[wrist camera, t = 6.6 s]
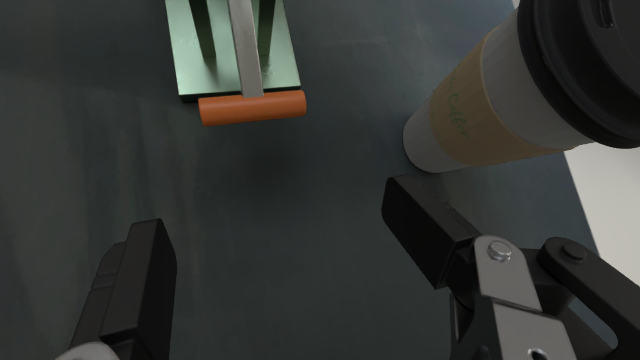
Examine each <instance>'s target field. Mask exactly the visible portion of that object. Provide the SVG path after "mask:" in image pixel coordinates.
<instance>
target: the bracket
mask: <svg viewBox="0 0 640 360" xmlns="http://www.w3.org/2000/svg"><path fill="white" fill-rule="evenodd" d="M251 4H252V11H253V19H254V26H255V33H256V40H257V48H258V55H259V62H260V70H261V77H262V84H263V91H264V93H269V92H282V91H294V90H300V87H301V84H300V79H299V74H298V70H297V65H296V61H295V56H294V52H293V47H292V43H291V38H290V34H289V29H288V24H287V20H286V15H285V11H284V6H283V2H282V0H251ZM165 6H166V12H167V19H168V26H169V33H170V39H171V46H172V53H173V60H174V66H175V73H176V80H177V87H178V93H179V97H180V99H181V101H182V103H185V102H197V101H198V99H199V98H208V97H220V96H232V95H242V94H241V88H240V82H239V75H238V69H237V63H236V56H235V50H234V44H233V37H232V31H231V24H230V18H229V12H228V5H227V0H165Z"/></svg>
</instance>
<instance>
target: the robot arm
mask: <svg viewBox="0 0 640 360" xmlns="http://www.w3.org/2000/svg"><path fill="white" fill-rule="evenodd" d="M381 211H382V217H383V220H384V222H385V223H386V225H387V226H388V227H389V229H390V230H391V231H392V233H393V234H394V235H395V237H396V238H397V239H398V241H399V242H400V243H401V245H402V246H403V247H404V249H405V250H406V251H407V253H408V254H409V255H410V257H411V258H412V259H413V261H414V262H415V263H416V265H417V266H418V267H419V269H420V270H421V271H422V273H423V274H424V275H425V277H426V278H427V279H428V281H429V282H430V283H431V285H432V286H433V287H434V289H435V290H437V289H440V288H444V287H447V286H448V287H449V288H450V289H451V293H450V323H451V356H450V360H640V287H639V286H638V285H637V284H635V283H634V282H632V281H631V280H630V279H628V278H627V277H626V276H624V275H623V274H622V273H620V272H619V271H618V270H616V269H615V268H614V267H612V266H611V265H609V264H608V263H607V262H605V261H604V260H603V259H601V258H600V257H599V256H597V255H596V254H595V253H593V252H592V251H591V250H589V249H588V248H586V247H585V246H583V245H581V244H579V243H577V242H575V241H572V240H569V239H566V238H560V237H552V238H549V239H547V240H546V242H545V243H544V245H543V246H542V248H541V249H521V248H518V247H517V246H516V245H514V244H513V243H511V242H510V241H508V240H506V239H504V238H501V237H498V236H494V235H482V234H481V233H480V232H479V231H478V230H477V229H476V228H475V227H474V226H473V225H471V224H470V223H469V222H468V221H467V220H466V219H465V218H464V217H463V216H462V215H460V214H459V213H458V212H457V211H456V210H455V209H454V208H453V209H452V206H451V205H449V204H448V203H447V202H446V201H444V199H443V198H442V197H441V196H440V195H438V194H437V193H436V192H435V191H434V190H432V189H430V188H428V187H426V186H424V185H422V184H421V185H420V184H419V183H418V182H417V181H416V180H415V179H413V178H412V177H411V176H410V175H408V174H405V175H400V176H394V177H389V178H388V179H387V181H386V186H385V192H384V197H383V203H382V208H381ZM176 275H177V261H176V255H175V252H174V249H173V246H172V244H171V241H170V239H169V236H168V233H167V231H166V228H165V226H164V223H163V221H162V220H161V219H160V218H158V219H153V220H147V221H142V222H136V223H133V224H132V225H131V227H130V230H129V234H128V237H127V240H126V242H121V243H115V244H114V245H113V246H112V247H111V249H110V250H109V251H108V252H107V253H106V254H105V255H104V257H103V258H102V259H101V262H100V265H99V267H98V270H97V273H96V277H95V278H94V281H93V284H92V286H91V291H90V292H89V295H88V297H87V300H86V303H85V305H84V308H83V311H82V314H81V316H80V319H79V322H78V324H77V327H76V330H75V333H74V335H73V338H72V341H71V344H70V346H69V348H68V350H67V351H66V352H64V353H63V354H61V355H60V356H59V357H57V358H56V359H55V360H169V350H170V339H171V328H172V318H173V307H174V296H175V285H176ZM575 297H577V298H578V299H579V300H580V301H582V302H583V303H584V304H585V305H586V306H587V307H588V308H589V309H590V310H592V311H593V312H594V313H595V314H596V315H597V316H598V317H599V318H600V319H602V320H603V321H604V322H605V323H606V324H607V325H608V326H609V327H610V328H611V329H612V330H613V331H614V333H615V334H616V336H617V339H618V346H617V347H616V348H615V349H612V348H611V347H610V346H609V345H608V344H607V343H605V342H604V341H603V340H602V339H601V338H600V337H599V336H598V335H597V334H596V333H595V332H594V331H593V330H592V329H591V328H590V327H589V326H588V325H587V324H586V323H584V322H583V321H582V320H581V319H580V318H579V317H578V316H577V315H576V314H575V313H574V312H573V311H572V310H571V309H570V308H569V307H568V305H569V304H570V303H571V302H572V301H573V300H574V298H575Z"/></svg>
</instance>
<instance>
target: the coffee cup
mask: <svg viewBox="0 0 640 360" xmlns="http://www.w3.org/2000/svg"><path fill="white" fill-rule="evenodd" d="M593 142H598V143H600V144H603V145H606V146H609V147H613V148H620V149H631V148H637V147H640V0H520V3H519V6H518V7H517V8H516V9H515V10H514V11H513V12H512V13H511V14H510V15H509V17H508V18H507V19H506V20H505V21H504V22H503V23H502V24H501V25H499V26H497V27H496V28H494V29H493V30H491V31H490V32H489V33H488V34H487V35H486V36H485V37H484V38H483V39H482V40H481V41H480V42H479V44H478V45H477V46H476V47H475V48H474V49H473V50H472V51H471V52H470V53H469V54H468V55H467V56H466V57H465V58H464V59H463V60H462V61H461V62H460V63H459V64H458V65H457V66H456V67H455V68H454V70H453V71H452V72H451V73H450V74H449V75H448V76H447V77H446V78H445V79H444V80H443V81H442V82H441V83H440V84H439V85H438V86H437V88H436V89H435V90H434V92H433V94H432V95H431V96H430V97H429V98H428V99H427V100H426V101H425V102H424V104H423V105H422V106H421V107H420V108H419V109H418V110H417V111H416V112H415V113H414V114H413V115H412V116H411V117H410V118H409V120H408V121H407V122H406V124H405V127H404V131H403V145H404V148H405V152H406V154H407V156H408V158H409V159H410V161H411V162H412V163H413V164H414V165H415V166H416V167H418V168H420V169H421V170H424V171H427V172H431V173H442V172H447V171H452V170H457V169H463V168H468V167H473V166H489V165H494V164H499V163H504V162H510V161H515V160H520V159H525V158H531V157H536V156H541V155H546V154H552V153H557V152H562V151H567V150H571V149H573V148H575V147H577V146H579V145H583V144H588V143H593Z"/></svg>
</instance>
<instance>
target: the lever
mask: <svg viewBox="0 0 640 360" xmlns="http://www.w3.org/2000/svg"><path fill="white" fill-rule="evenodd" d="M227 5H228V12H229V18H230V24H231V31H232V37H233V44H234V50H235V56H236V63H237V69H238V75H239V82H240V88H241V94H242V95H232V96H220V97H208V98H199V99H198V104H199V111H200V116H201V120H202V123H203V126H215V125H224V124H233V123H242V122H252V121H261V120H270V119H280V118H289V117H298V116H304V115H305V114H306V99H305V95H304V92H303V91H302V90H294V91H282V92H269V93H264V91H263V84H262V77H261V70H260V62H259V55H258V48H257V40H256V33H255V26H254V19H253V11H252V4H251V0H227Z"/></svg>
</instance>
